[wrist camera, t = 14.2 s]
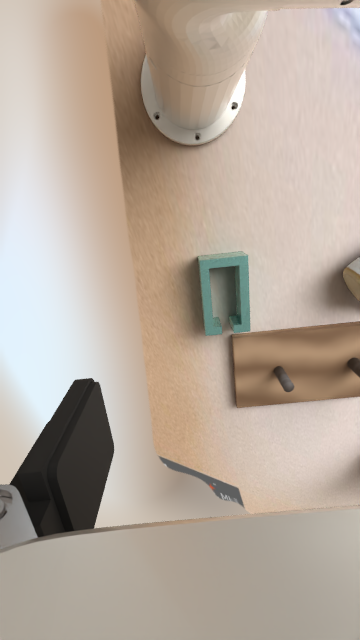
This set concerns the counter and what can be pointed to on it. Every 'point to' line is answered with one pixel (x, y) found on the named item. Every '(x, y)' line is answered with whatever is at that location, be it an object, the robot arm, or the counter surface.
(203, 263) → the c link
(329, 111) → the counter surface
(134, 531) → the robot arm
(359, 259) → the ceramic mug
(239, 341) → the stand
